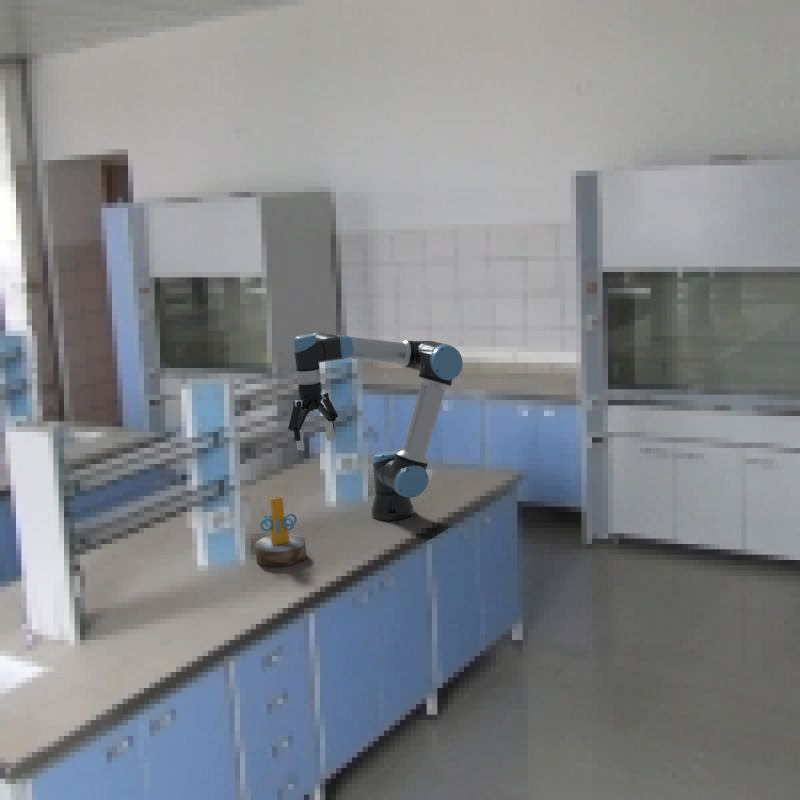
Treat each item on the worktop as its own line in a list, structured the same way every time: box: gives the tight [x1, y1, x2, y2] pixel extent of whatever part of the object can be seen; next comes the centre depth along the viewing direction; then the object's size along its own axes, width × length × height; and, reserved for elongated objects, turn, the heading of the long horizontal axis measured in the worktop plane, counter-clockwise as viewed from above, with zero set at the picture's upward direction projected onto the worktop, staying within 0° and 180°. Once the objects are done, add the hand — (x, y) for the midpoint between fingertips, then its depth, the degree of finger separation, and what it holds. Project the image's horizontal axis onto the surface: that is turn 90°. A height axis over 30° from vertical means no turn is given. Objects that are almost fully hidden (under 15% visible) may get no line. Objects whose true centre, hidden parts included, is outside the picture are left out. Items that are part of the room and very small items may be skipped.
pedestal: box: [254, 533, 307, 568], centre depth 348 cm, size 16×16×6 cm
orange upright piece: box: [259, 494, 297, 545], centre depth 346 cm, size 12×10×15 cm
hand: (316, 445), depth 357 cm, fingers open, 13 cm apart
